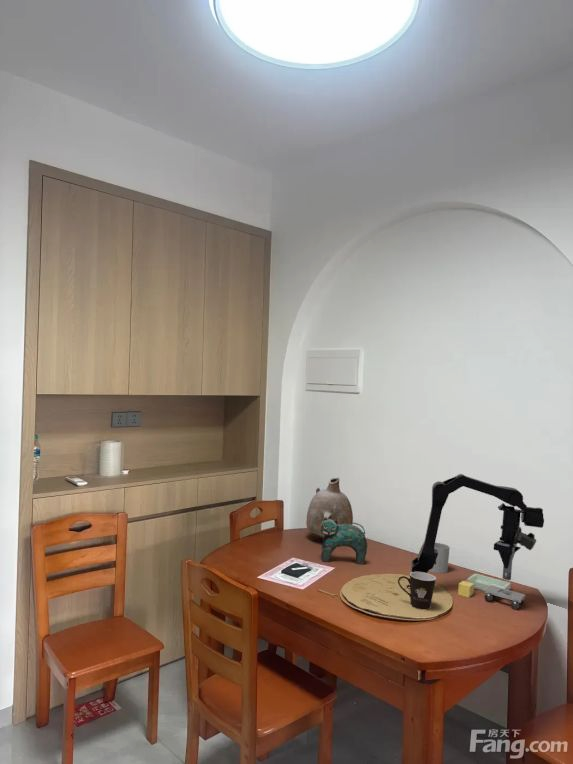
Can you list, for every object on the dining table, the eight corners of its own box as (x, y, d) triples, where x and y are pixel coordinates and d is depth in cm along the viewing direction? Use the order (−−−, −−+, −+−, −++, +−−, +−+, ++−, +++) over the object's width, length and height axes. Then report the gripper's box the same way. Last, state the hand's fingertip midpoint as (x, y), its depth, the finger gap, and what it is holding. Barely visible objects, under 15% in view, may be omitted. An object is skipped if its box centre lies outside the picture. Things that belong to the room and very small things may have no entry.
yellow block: (468, 597, 197) (469, 586, 197) (457, 594, 200) (458, 583, 200) (473, 594, 201) (474, 583, 201) (462, 591, 204) (463, 580, 204)
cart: (525, 603, 196) (526, 593, 196) (519, 610, 188) (519, 600, 188) (490, 593, 203) (491, 584, 203) (483, 600, 195) (484, 590, 195)
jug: (300, 532, 266) (305, 471, 266) (342, 534, 270) (347, 474, 270) (311, 548, 242) (317, 480, 242) (357, 549, 246) (363, 483, 246)
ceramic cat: (318, 562, 222) (322, 513, 223) (316, 557, 229) (320, 509, 229) (366, 566, 223) (370, 517, 223) (363, 561, 230) (367, 513, 230)
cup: (439, 566, 232) (441, 542, 232) (451, 572, 224) (453, 548, 225) (422, 566, 229) (424, 542, 229) (434, 573, 221) (436, 548, 222)
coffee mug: (437, 607, 185) (440, 577, 185) (425, 613, 179) (428, 582, 179) (407, 596, 193) (409, 567, 193) (394, 601, 186) (397, 572, 187)
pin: (510, 581, 193) (512, 553, 194) (500, 578, 196) (502, 550, 196) (513, 578, 196) (515, 551, 196) (502, 576, 198) (504, 549, 199)
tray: (502, 596, 202) (503, 589, 202) (465, 585, 209) (466, 579, 210) (510, 589, 210) (510, 582, 210) (474, 579, 218) (474, 573, 218)
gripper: (529, 533, 184) (525, 579, 184) (540, 524, 199) (537, 567, 199) (495, 525, 190) (491, 570, 190) (508, 518, 206) (505, 560, 205)
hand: (507, 567), depth 196 cm, fingers closed on pin, 3 cm apart
